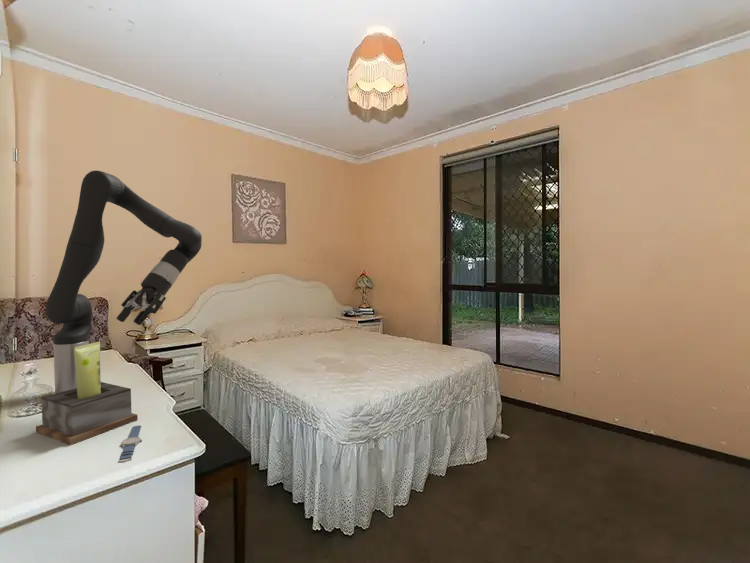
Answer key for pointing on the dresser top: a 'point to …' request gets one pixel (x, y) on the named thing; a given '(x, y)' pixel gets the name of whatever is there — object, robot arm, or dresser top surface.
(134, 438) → the wristwatch
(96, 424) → the socket
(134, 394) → the dresser top surface
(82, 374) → the tube
